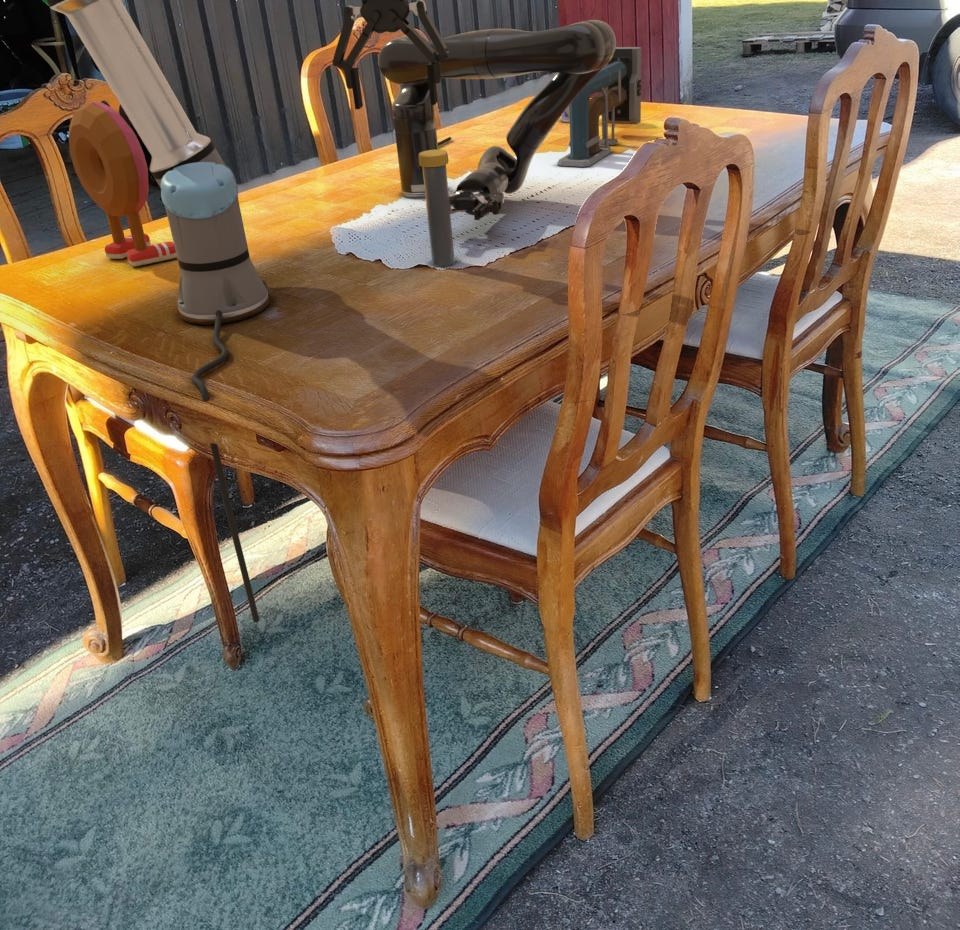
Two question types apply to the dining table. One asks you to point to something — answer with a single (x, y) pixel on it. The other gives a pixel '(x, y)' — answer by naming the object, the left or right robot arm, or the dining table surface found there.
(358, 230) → the dining table surface
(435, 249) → the tube
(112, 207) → the toy
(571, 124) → the clamp
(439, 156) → the lid
